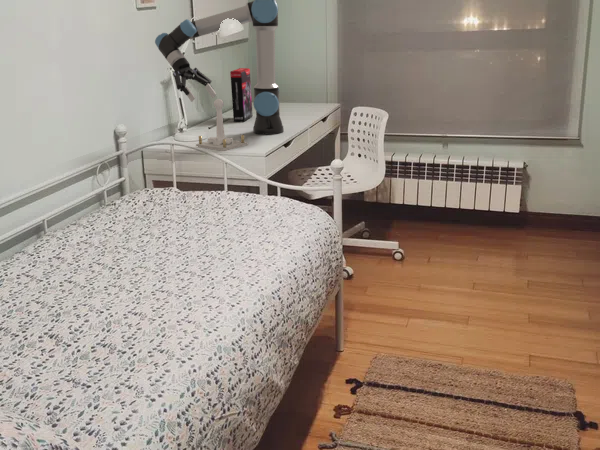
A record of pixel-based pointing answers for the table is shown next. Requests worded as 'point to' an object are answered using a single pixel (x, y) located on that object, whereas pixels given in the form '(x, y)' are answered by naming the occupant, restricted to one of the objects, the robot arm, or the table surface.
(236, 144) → the plate
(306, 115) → the table surface
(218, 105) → the joystick
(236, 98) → the graphics card box
